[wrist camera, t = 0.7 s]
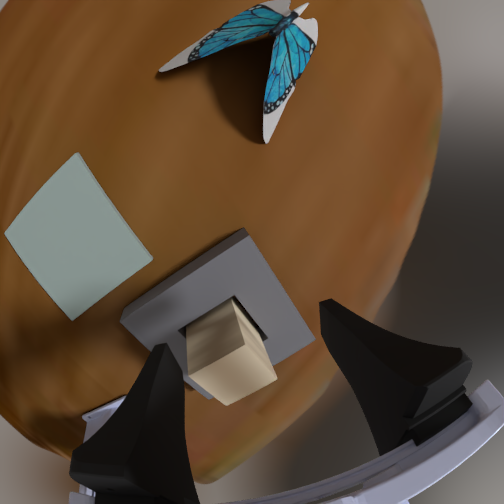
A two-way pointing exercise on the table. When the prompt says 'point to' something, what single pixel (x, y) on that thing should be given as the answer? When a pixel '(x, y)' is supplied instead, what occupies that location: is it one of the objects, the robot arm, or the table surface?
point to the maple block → (227, 353)
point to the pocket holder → (218, 302)
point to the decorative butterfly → (283, 55)
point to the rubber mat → (76, 239)
